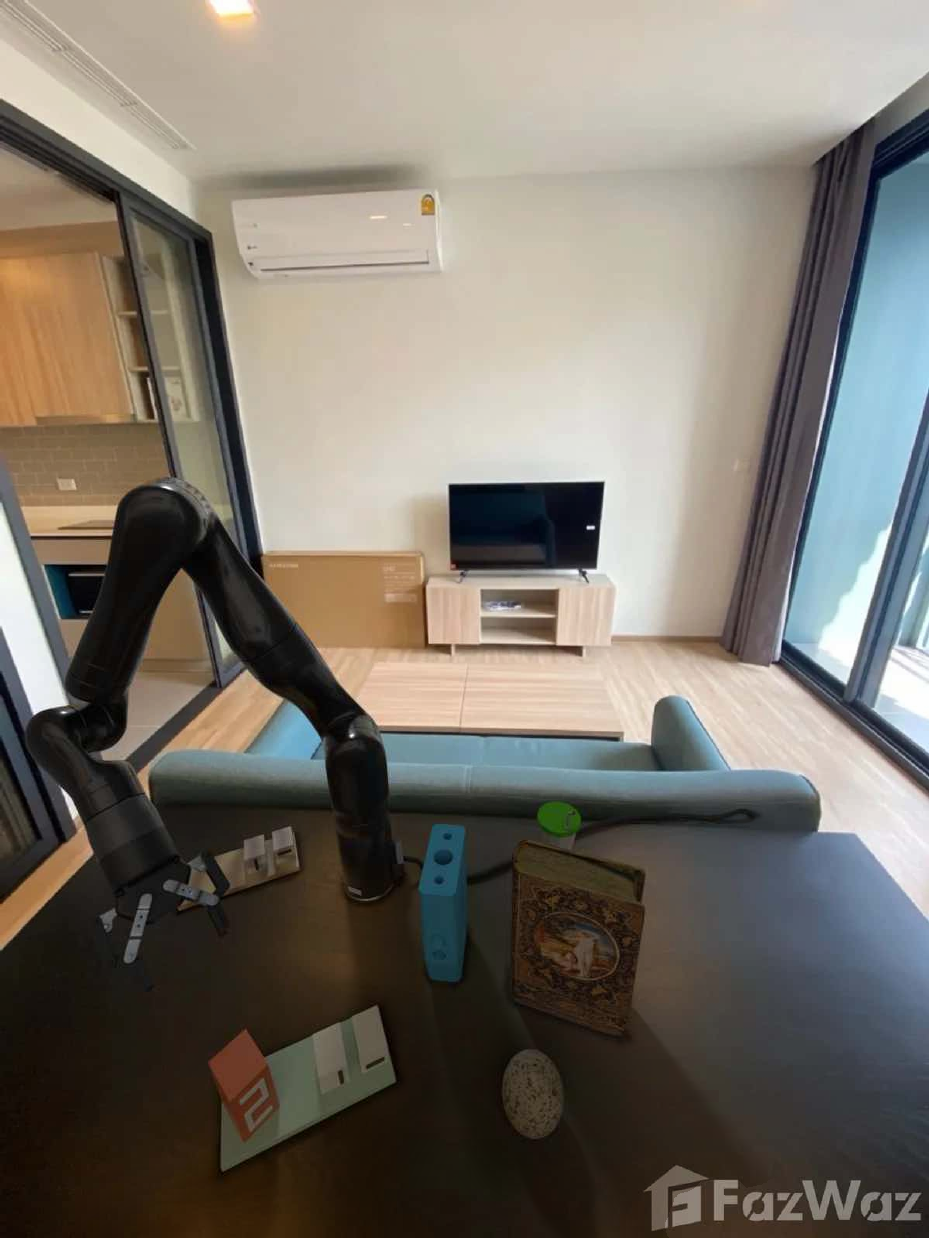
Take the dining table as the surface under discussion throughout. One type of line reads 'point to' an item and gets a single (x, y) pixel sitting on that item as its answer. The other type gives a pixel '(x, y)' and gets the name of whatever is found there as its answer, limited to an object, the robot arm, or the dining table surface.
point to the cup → (558, 824)
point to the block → (444, 902)
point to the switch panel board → (316, 1082)
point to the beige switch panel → (251, 864)
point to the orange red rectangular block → (244, 1084)
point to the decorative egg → (532, 1094)
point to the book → (575, 934)
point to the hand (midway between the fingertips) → (189, 960)
